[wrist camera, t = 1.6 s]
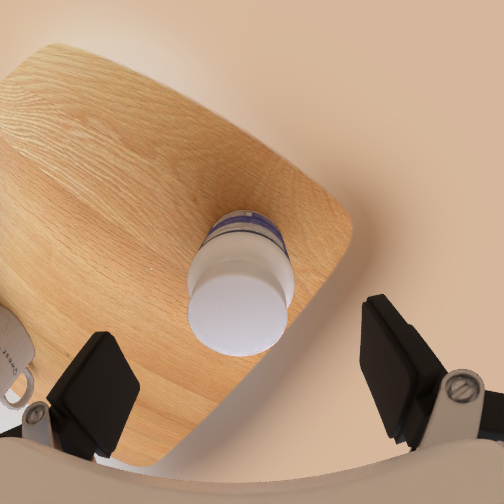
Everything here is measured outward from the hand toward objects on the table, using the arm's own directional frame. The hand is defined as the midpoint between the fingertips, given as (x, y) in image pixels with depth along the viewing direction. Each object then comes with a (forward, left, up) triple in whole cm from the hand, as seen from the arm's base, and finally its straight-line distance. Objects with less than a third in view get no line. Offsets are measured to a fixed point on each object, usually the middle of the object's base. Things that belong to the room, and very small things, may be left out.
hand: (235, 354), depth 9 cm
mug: (+30, -16, -11) cm, 36 cm away
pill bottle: (0, 0, -11) cm, 11 cm away
